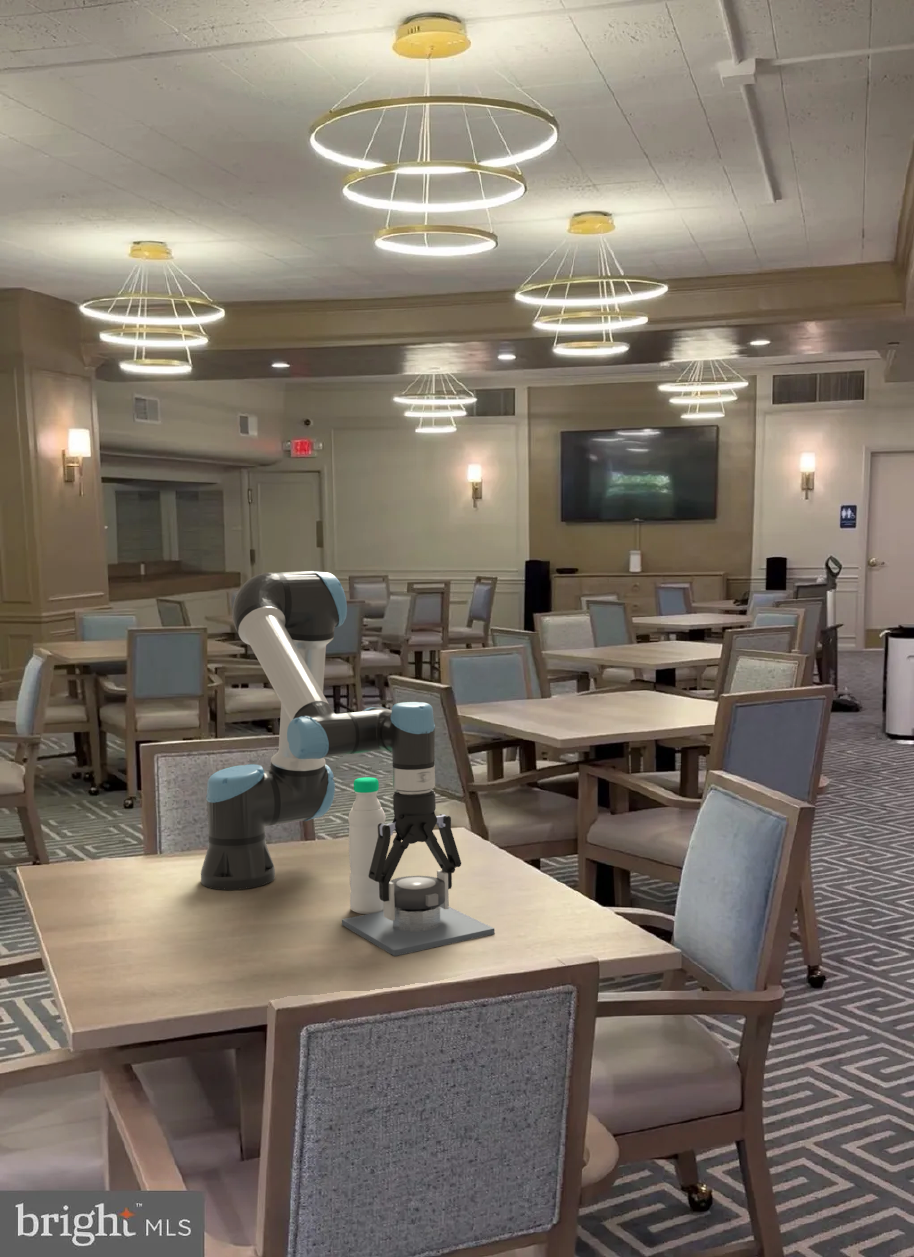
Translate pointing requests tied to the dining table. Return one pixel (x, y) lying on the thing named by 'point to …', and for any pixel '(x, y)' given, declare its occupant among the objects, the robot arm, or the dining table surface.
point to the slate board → (403, 942)
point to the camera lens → (418, 892)
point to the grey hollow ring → (417, 919)
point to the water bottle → (364, 846)
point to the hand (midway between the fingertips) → (416, 912)
